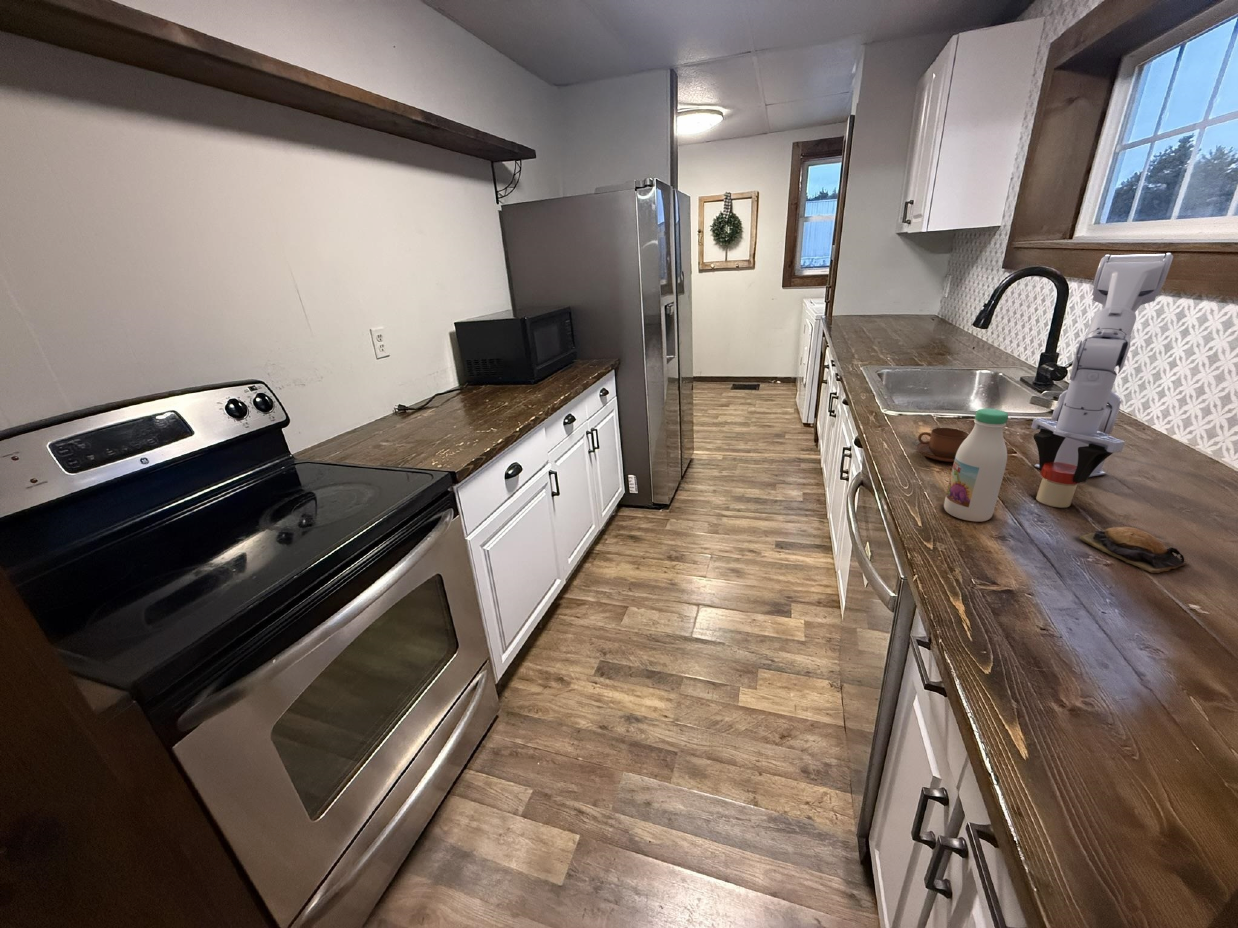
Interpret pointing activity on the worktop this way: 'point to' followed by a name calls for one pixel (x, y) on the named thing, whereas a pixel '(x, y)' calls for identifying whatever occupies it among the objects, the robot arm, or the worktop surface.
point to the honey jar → (1055, 493)
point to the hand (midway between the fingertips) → (1061, 475)
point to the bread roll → (1135, 548)
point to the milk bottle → (978, 468)
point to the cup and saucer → (942, 443)
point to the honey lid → (1059, 472)
